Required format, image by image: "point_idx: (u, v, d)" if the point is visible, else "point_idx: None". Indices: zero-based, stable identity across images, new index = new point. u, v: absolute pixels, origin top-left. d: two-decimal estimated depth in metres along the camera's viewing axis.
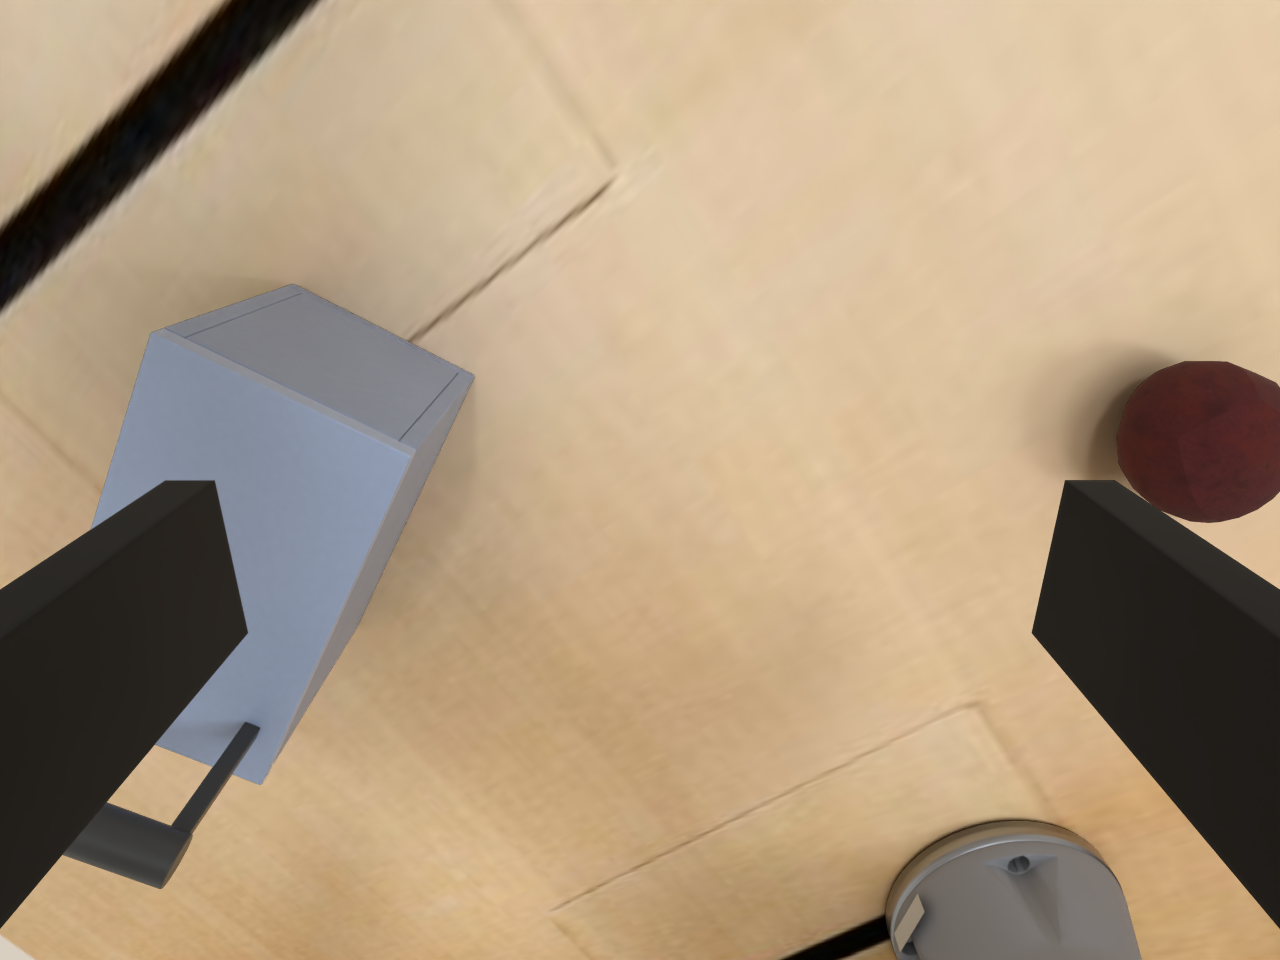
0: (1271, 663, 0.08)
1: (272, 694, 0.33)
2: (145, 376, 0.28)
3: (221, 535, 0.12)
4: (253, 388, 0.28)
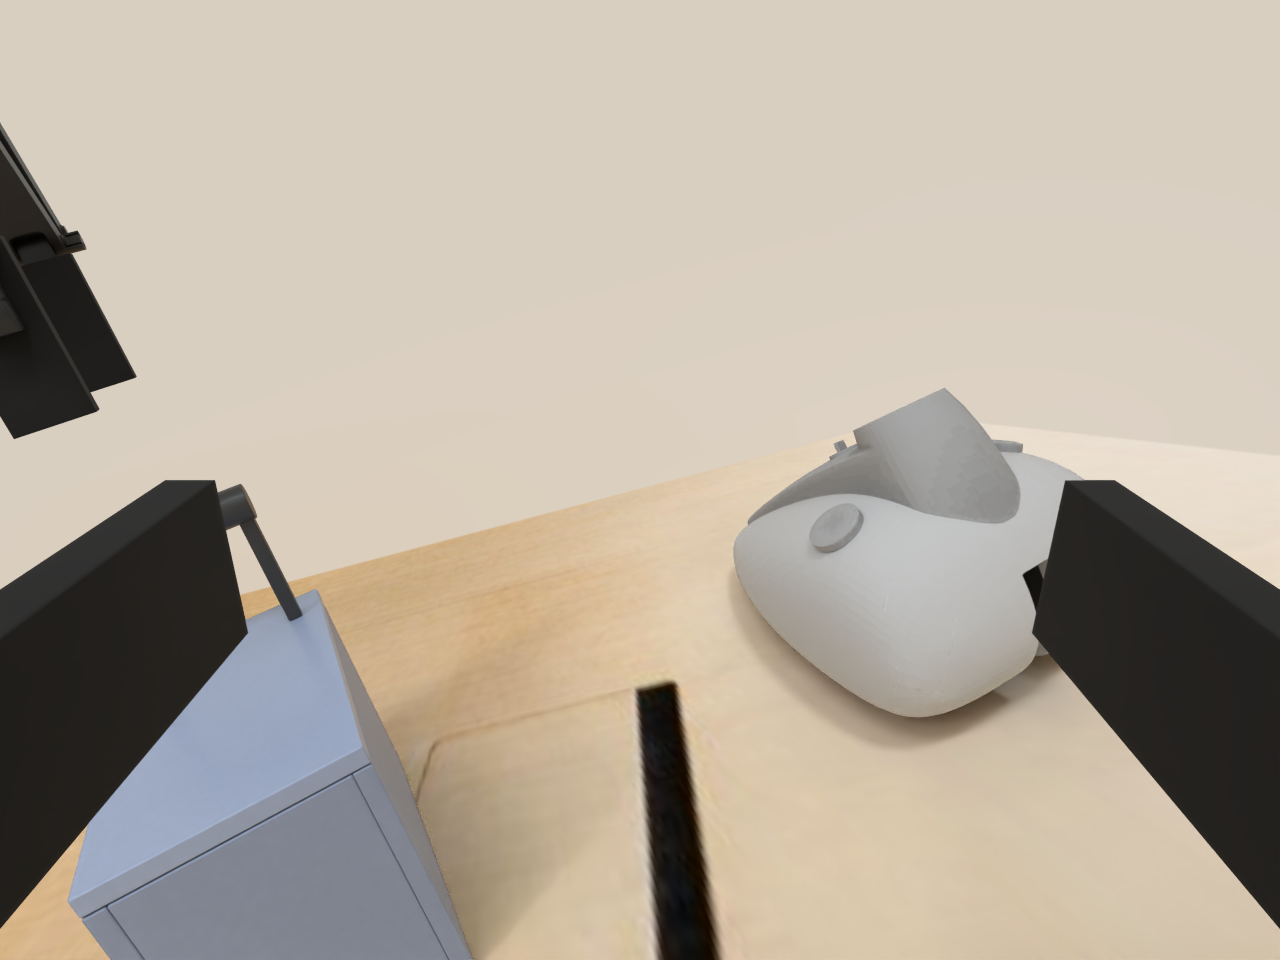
0: (1272, 663, 0.08)
1: None
2: (348, 727, 0.30)
3: (221, 534, 0.12)
4: (256, 797, 0.27)
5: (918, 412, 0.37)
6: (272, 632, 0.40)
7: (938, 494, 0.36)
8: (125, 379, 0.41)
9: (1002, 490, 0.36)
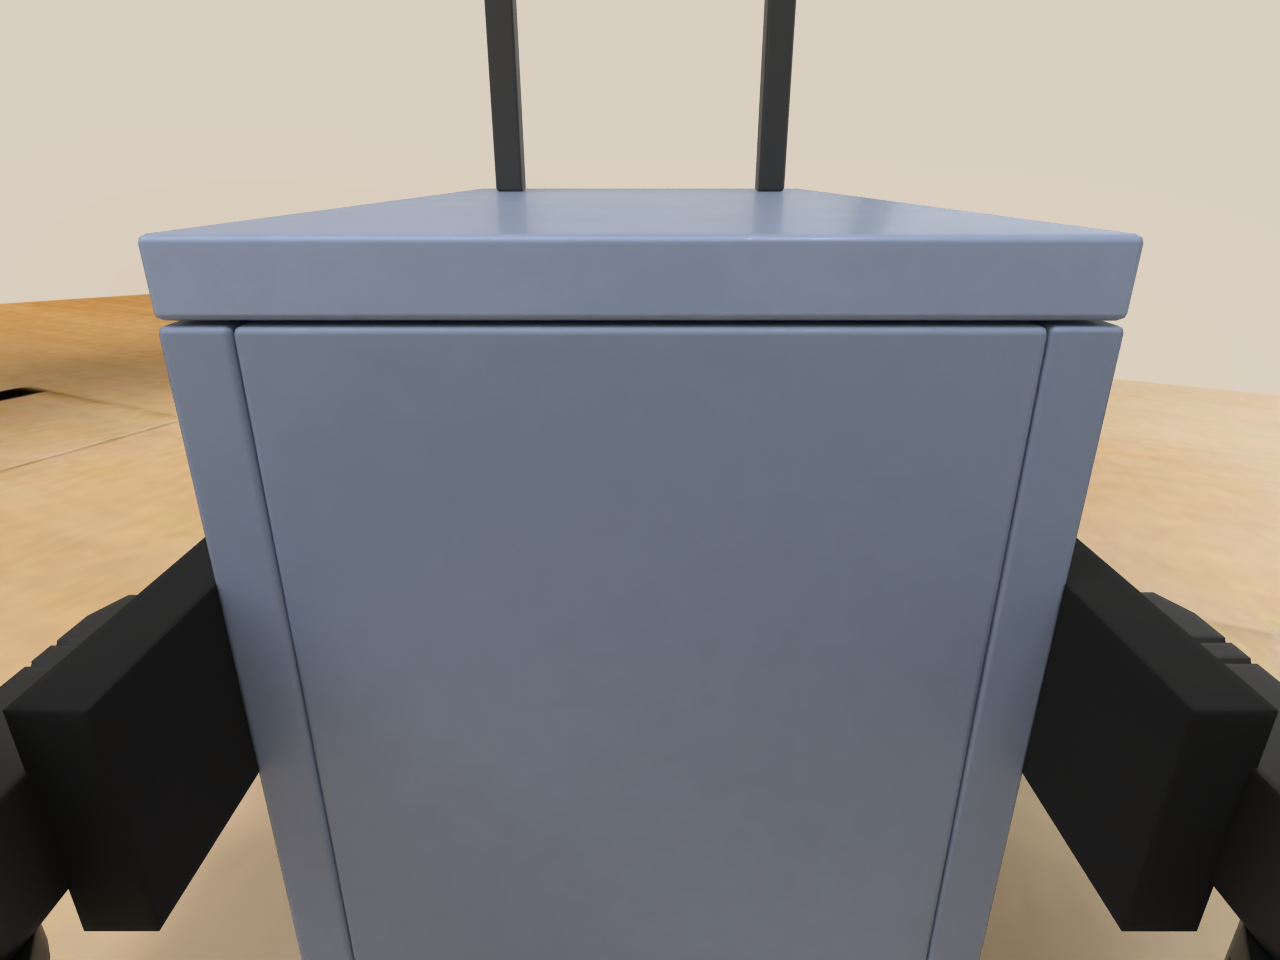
0: (1060, 606, 0.09)
1: (488, 193, 0.19)
2: (1035, 222, 0.09)
3: None
4: (750, 231, 0.08)
5: None
6: None
7: None
8: None
9: None
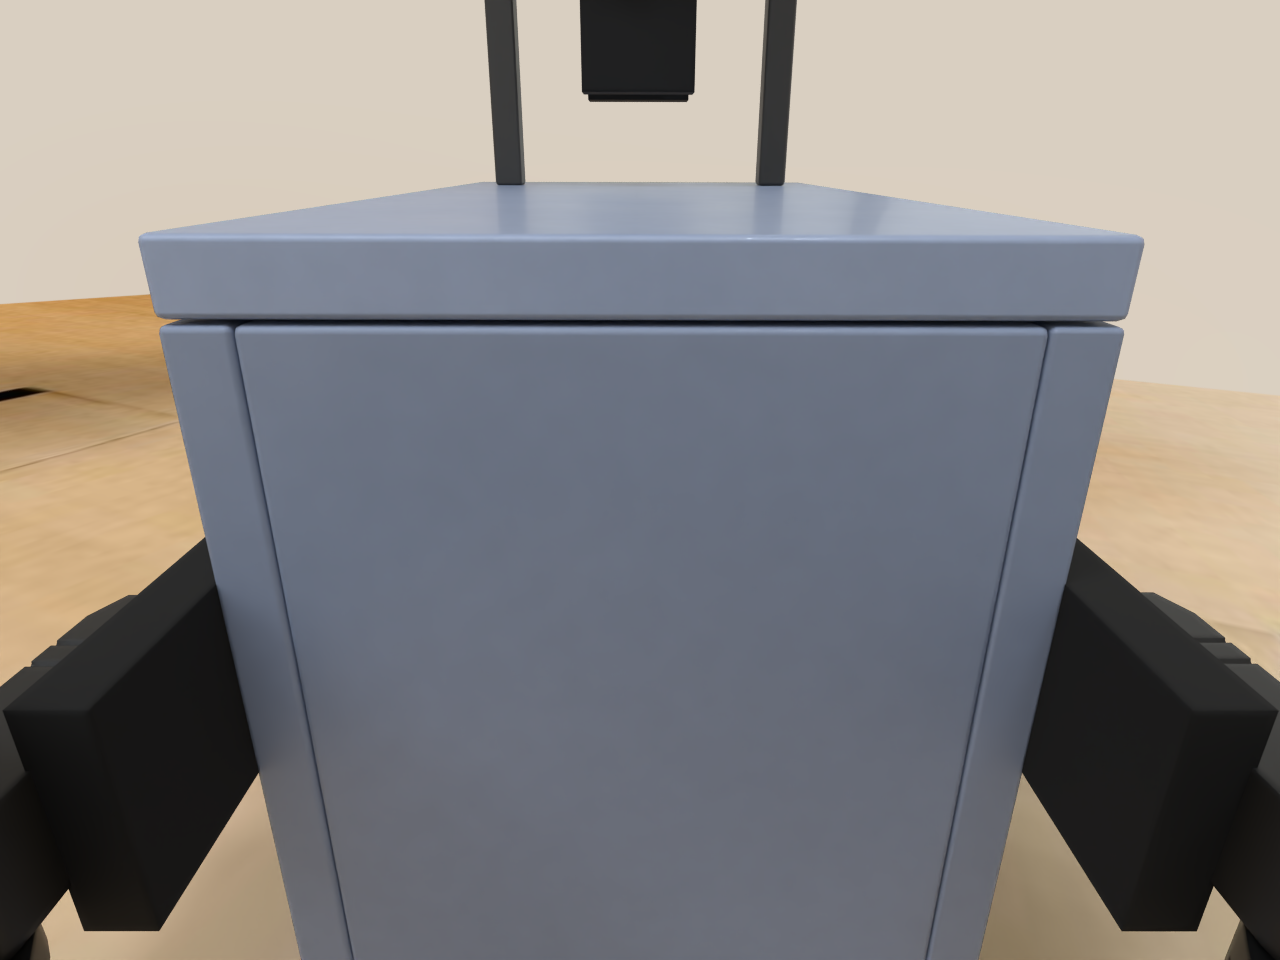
0: (1061, 606, 0.09)
1: (487, 187, 0.19)
2: (1037, 222, 0.09)
3: None
4: (751, 233, 0.08)
5: None
6: (726, 186, 0.21)
7: None
8: (672, 96, 0.21)
9: None
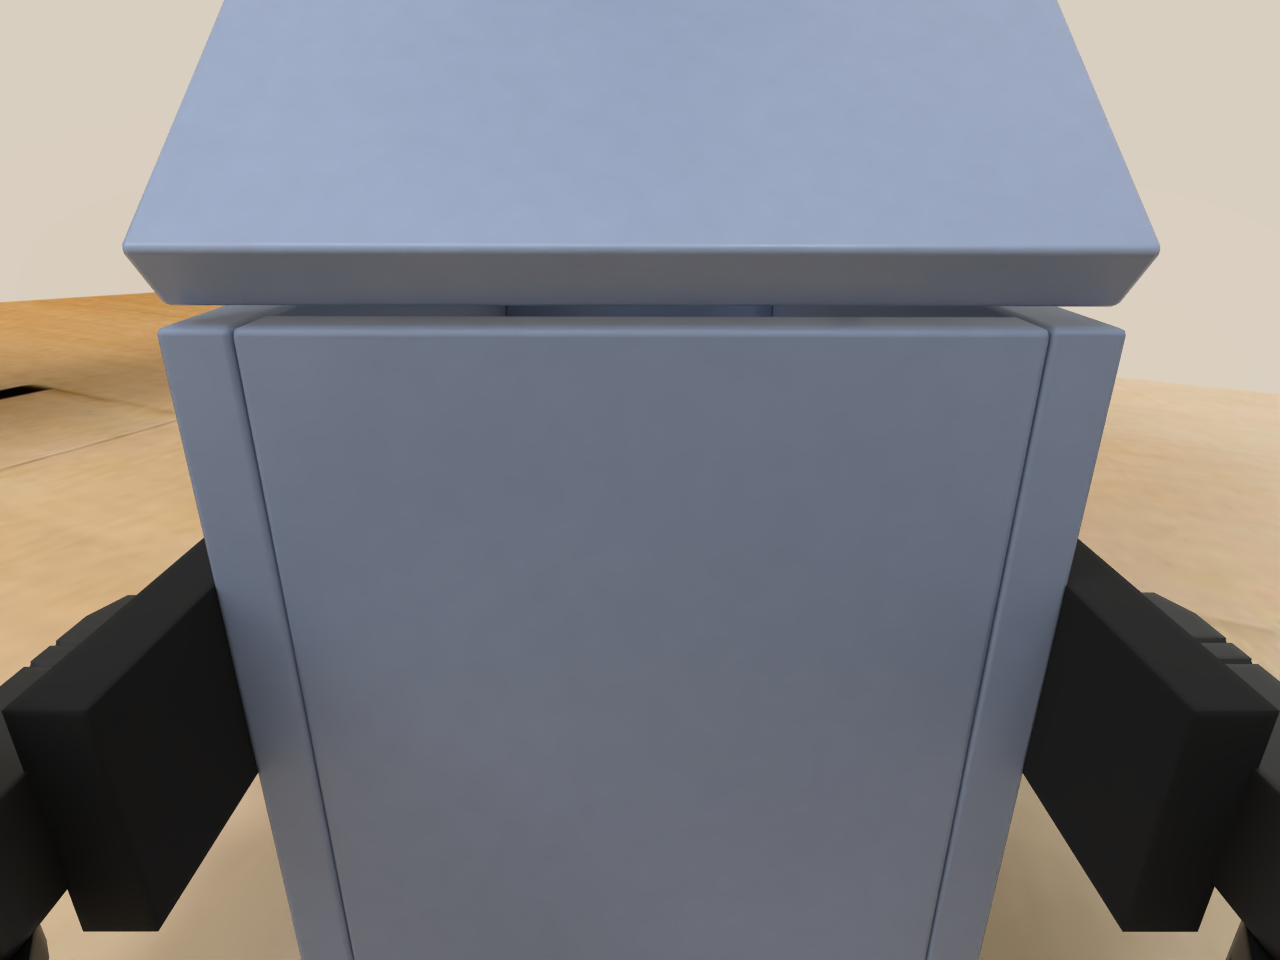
0: (1061, 606, 0.09)
1: None
2: (1085, 130, 0.08)
3: None
4: (758, 228, 0.07)
5: None
6: None
7: None
8: None
9: None
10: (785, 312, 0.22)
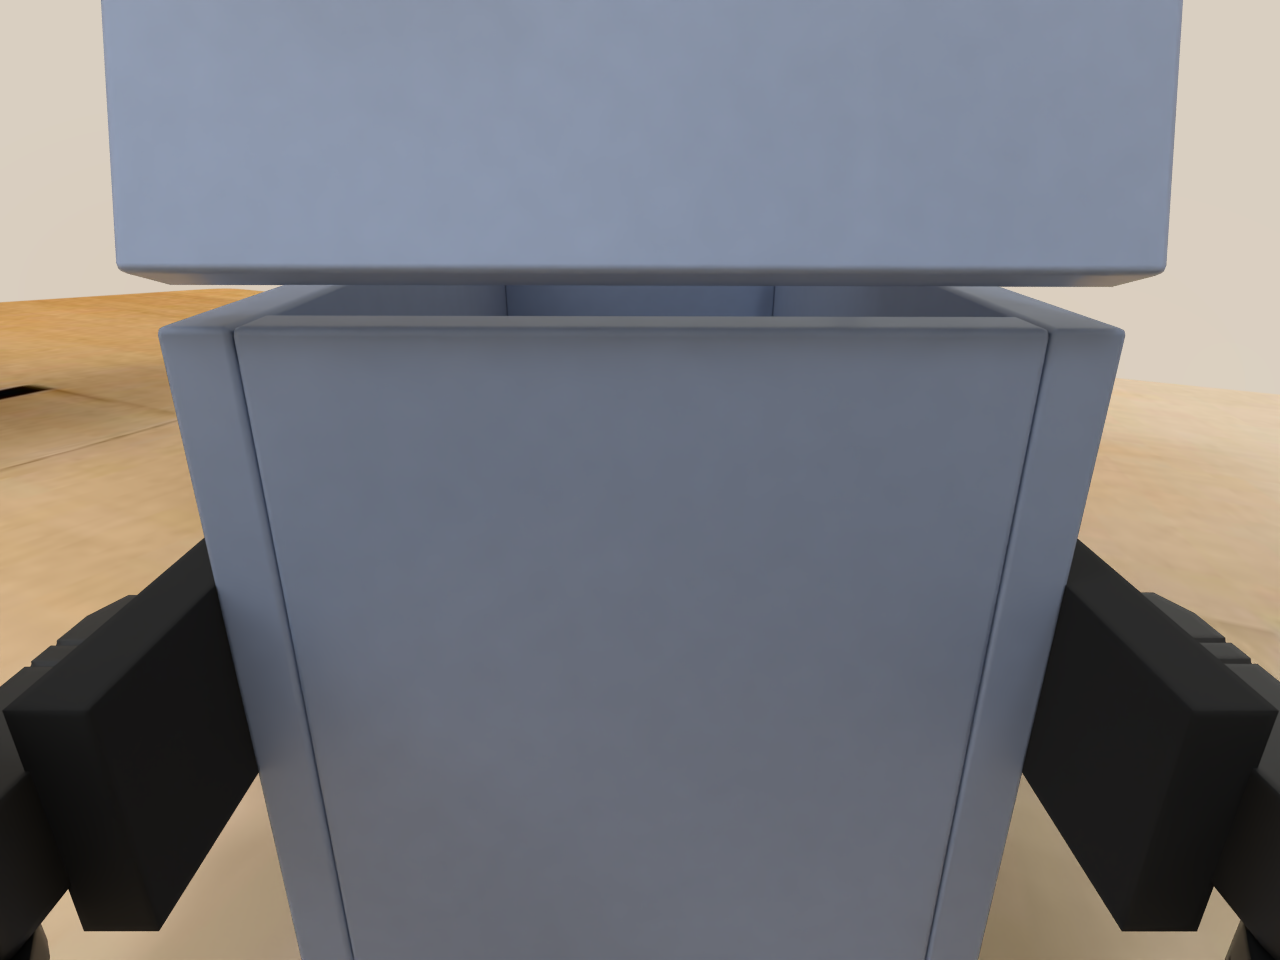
0: (1061, 606, 0.09)
1: None
2: (1147, 87, 0.07)
3: None
4: (760, 244, 0.07)
5: None
6: None
7: None
8: None
9: None
10: (785, 312, 0.22)
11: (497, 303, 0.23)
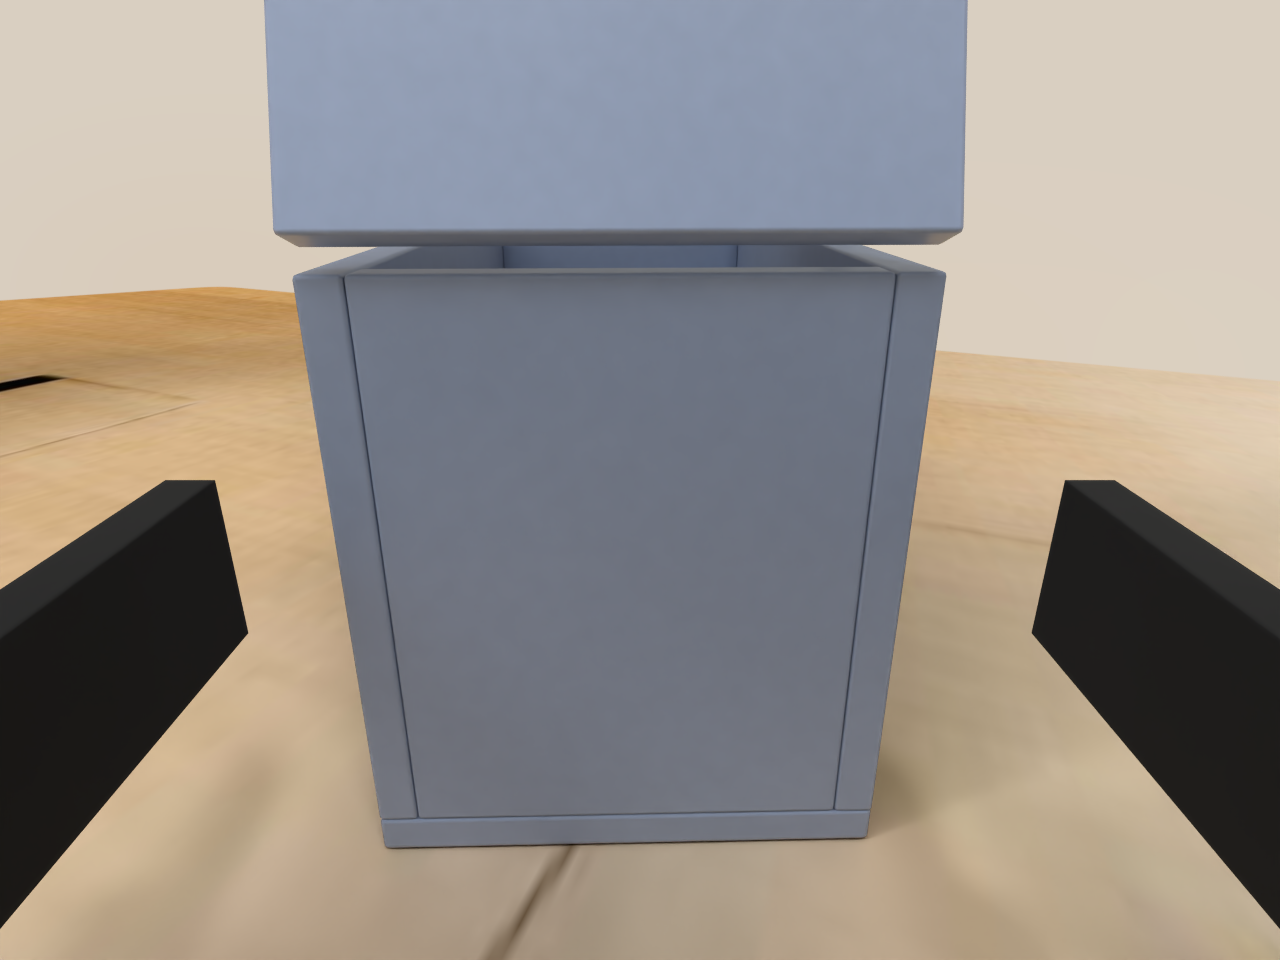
0: (1271, 663, 0.08)
1: None
2: (945, 111, 0.11)
3: (221, 535, 0.12)
4: (699, 213, 0.11)
5: None
6: None
7: None
8: None
9: None
10: None
11: None
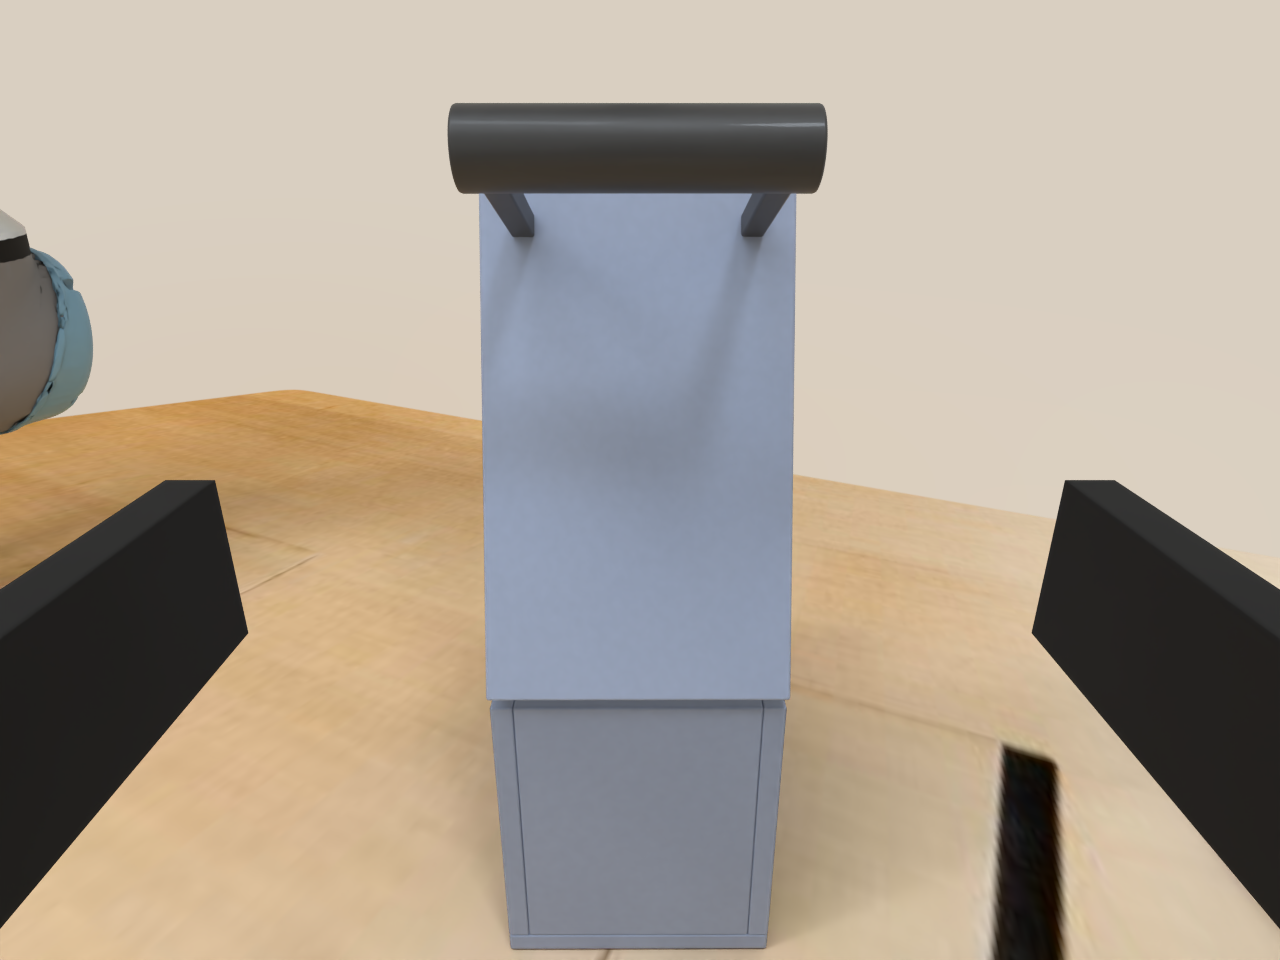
0: (1271, 663, 0.08)
1: (516, 298, 0.24)
2: (781, 649, 0.25)
3: (221, 534, 0.12)
4: (672, 692, 0.25)
5: None
6: (711, 247, 0.24)
7: None
8: None
9: None
10: None
11: None
